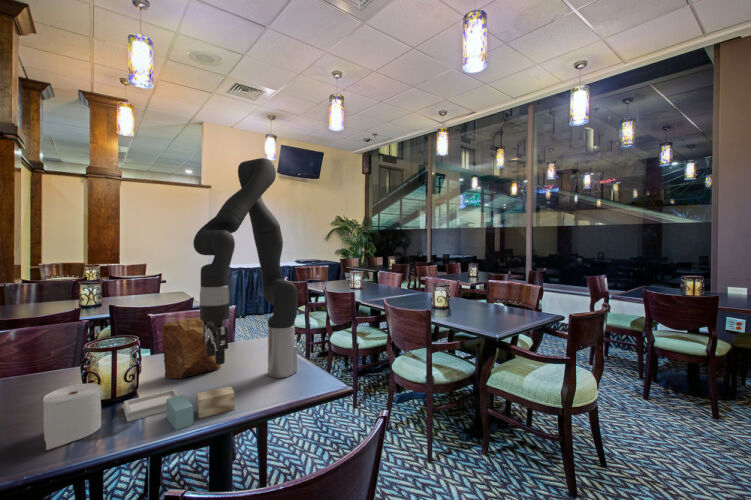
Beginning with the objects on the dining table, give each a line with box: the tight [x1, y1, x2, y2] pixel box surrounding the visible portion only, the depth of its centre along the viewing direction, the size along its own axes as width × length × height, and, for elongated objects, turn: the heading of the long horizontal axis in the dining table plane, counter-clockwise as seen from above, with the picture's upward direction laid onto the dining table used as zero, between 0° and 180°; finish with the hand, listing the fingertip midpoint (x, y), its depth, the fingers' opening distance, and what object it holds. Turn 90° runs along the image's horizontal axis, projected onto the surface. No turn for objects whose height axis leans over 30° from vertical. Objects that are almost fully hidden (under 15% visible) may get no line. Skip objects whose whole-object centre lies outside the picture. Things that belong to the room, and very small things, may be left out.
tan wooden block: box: [196, 385, 236, 419], centre depth 97 cm, size 9×5×5 cm, turn 122°
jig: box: [122, 388, 180, 423], centre depth 98 cm, size 13×10×2 cm
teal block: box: [166, 394, 194, 431], centre depth 91 cm, size 4×9×5 cm, turn 44°
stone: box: [161, 316, 222, 380], centre depth 123 cm, size 19×11×20 cm, turn 122°
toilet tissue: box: [42, 382, 102, 451], centre depth 85 cm, size 11×12×10 cm
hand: (215, 359), depth 97 cm, fingers open, 8 cm apart
